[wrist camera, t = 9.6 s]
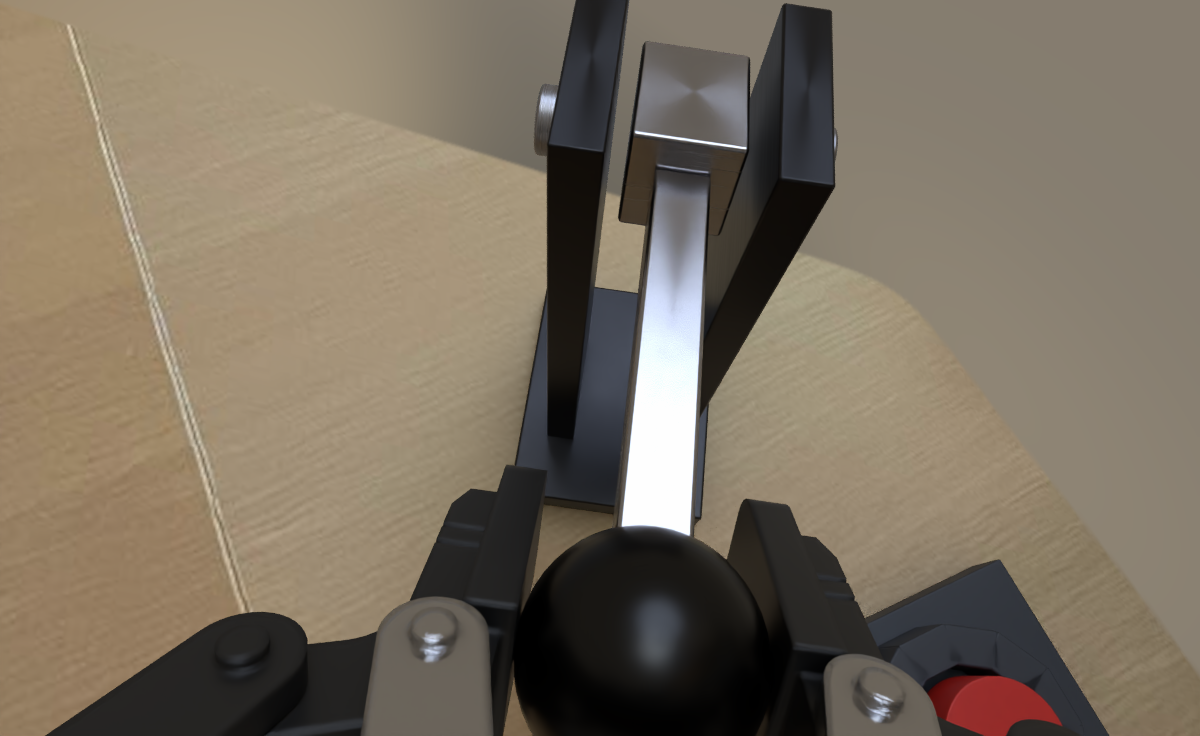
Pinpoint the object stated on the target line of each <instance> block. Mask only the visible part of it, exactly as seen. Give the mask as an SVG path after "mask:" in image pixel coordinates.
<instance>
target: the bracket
mask: <svg viewBox="0 0 1200 736" xmlns="http://www.w3.org/2000/svg"><path fill="white" fill-rule="evenodd" d="M628 6H629V0H576V2H575V7H574V12H573V17H572V22H571V27H570V31H569V37H568V42H567V46H566V51H565V57H564V61H563V67H562V71H561V76H560V81H559V86H557V85H550V84H544V85H542V87H541V90H540V93H539V97H538V102H537V109H536V117H535V128H534V150H535V153H536V154H537V155H540V156H547V290H546V295H545V301H544V306H543V312H542V317H541V323H540V328H539V334H538V339H537V345H536V350H535V356H534V361H533V367H532V372H531V378H530V383H529V389H528V394H527V400H526V405H525V411H524V416H523V422H522V427H521V433H520V438H519V444H518V449H517V455H516V460H515V466H520V467H527V468H534V469H541V470H547V481H546V489H545V497H544V504H546V505H554V506H561V507H568V508H575V509H582V510H589V511H596V512H603V513H611V514H614V507H615V498H616V489H617V480H618V470H619V461H620V452H621V443H622V434H623V425H624V416H625V407H626V398H627V389H628V380H629V371H630V362H631V353H632V343H633V334H634V325H635V316H636V307H637V298H638V293H633V292H626V291H619V290H612V289H605V288H598V287H595V280H596V272H597V263H598V255H599V247H600V239H601V230H602V222H603V214H604V205H605V197H606V189H607V180H608V172H609V164H610V155H611V147H612V138H613V129H614V122H615V114H616V106H617V96H618V89H619V81H620V72H621V64H622V56H623V48H624V47H623V46H624V39H625V31H626V23H627V13H628ZM833 97H834V96H833V43H832V11H831V10H827V9H820V8H814V7H806V6H799V5H793V4H787V3H786V4H784V5H783V6H782V8H781V11H780V14H779V17H778V19H777V22H776V25H775V28H774V31H773V34H772V37H771V39H770V42H769V45H768V48H767V52H766V54H765V57H764V60H763V62H762V65H761V69H760V71H759V74H758V77H757V80H756V82H755V85H754V88H753V91H752V94H751V97H750V132H749V154H748V156H747V159H746V162H745V165H744V168H743V171H742V174H741V177H740V180H739V182H738V185H737V188H736V191H735V194H734V197H733V200H732V203H731V206H730V209H729V211H728V214H727V217H726V220H725V223H724V226H723V229H722V232H721V234H720V235H719V236H713V235H708V255H707V275H706V296H705V317H704V337H703V358H702V378H701V399H700V420H699V440H698V461H697V481H696V502H695V523H694V525H695V524H696V523H697V522H698V521H699V520H700V519H701V516H702V500H703V485H704V470H705V454H706V439H707V423H708V408H709V401H710V400H711V398H712V396H713V395H714V393H715V391H716V390H717V388H718V386H719V384H720V383H721V381H722V379H723V378H724V376H725V374H726V372H727V371H728V369H729V367H730V366H731V364H732V362H733V360H734V359H735V357H736V355H737V354H738V352H739V350H740V348H741V347H742V345H743V343H744V342H745V340H746V338H747V337H748V335H749V333H750V331H751V330H752V328H753V326H754V325H755V323H756V321H757V319H758V318H759V316H760V314H761V313H762V311H763V309H764V307H765V306H766V304H767V302H768V301H769V299H770V297H771V296H772V294H773V292H774V290H775V289H776V287H777V285H778V284H779V282H780V280H781V278H782V277H783V275H784V273H785V272H786V270H787V268H788V266H789V265H790V263H791V261H792V260H793V258H794V256H795V254H796V253H797V251H798V249H799V248H800V246H801V244H802V243H803V241H804V239H805V237H806V236H807V234H808V232H809V231H810V229H811V227H812V225H813V224H814V222H815V220H816V219H817V217H818V215H819V213H820V212H821V210H822V208H823V207H824V205H825V203H826V201H827V200H828V198H829V196H830V195H831V193H832V191H833V189H834V188H835V160H836V154H837V146H838V136H837V131H836V129H835V128H834V98H833Z"/></svg>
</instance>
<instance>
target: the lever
mask: <svg viewBox="0 0 1200 736" xmlns="http://www.w3.org/2000/svg"><path fill="white" fill-rule="evenodd" d="M749 132H750V58H749V57H748V56H744V55H737V54H730V53H724V52H717V51H710V50H703V49H696V48H690V47H683V46H676V45H670V44H663V43H656V42H649V41H647V42H645V43H644V45H643V47H642V54H641V61H640V68H639V74H638V81H637V88H636V95H635V101H634V108H633V114H632V121H631V128H630V135H629V142H628V150H627V157H626V164H625V171H624V178H623V186H622V193H621V200H620V207H619V214H618V219H619V221H620V222H624V223H631V224H637V225H644V226H645V235H644V244H643V253H642V262H641V271H640V280H639V289H638V298H637V307H636V316H635V325H634V334H633V343H632V353H631V362H630V371H629V380H628V389H627V398H626V407H625V416H624V425H623V434H622V443H621V452H620V461H619V470H618V480H617V489H616V498H615V507H614V516H613V525H612V528H610V529H607V530H604V531H601V532H598V533H595V534H593V535H591V536H589V537H587V538H585V539H583V540H581V541H579V542H578V543H576V544H575V545H573V546H572V547H570V548H569V549H567V550H566V551H565V552H564V553H563V554H561V555H560V556H559V557H558V558H557V559H556V560H554V561H553V563H552V564H551V565H550V566H549V567H548V568H547V569H546V570H545V571H544V573H543V574H542V575H541V577H540V578H539V580H538V581H537V583H536V584H535V586H534V587H533V589H532V591H531V593H530V595H529V597H528V599H527V601H526V603H525V606H524V609H523V611H522V614H521V617H520V620H519V625H518V630H517V636H516V642H515V650H514V678H515V685H516V692H517V696H518V700H519V703H520V707H521V711H522V713H523V716H524V718H525V720H526V723H527V725H528V728H529V729H530V731H531V733H532V735H533V736H756V734H757V732H758V730H759V728H760V726H761V723H762V721H763V718H764V715H765V712H766V709H767V706H768V702H769V696H770V691H771V684H772V655H771V646H770V641H769V636H768V631H767V628H766V624H765V621H764V618H763V615H762V612H761V610H760V608H759V606H758V603H757V601H756V599H755V597H754V595H753V594H752V592H751V590H750V589H749V587H748V585H747V584H746V582H745V581H744V580H743V578H742V577H741V576H740V574H739V573H738V572H737V571H736V570H735V568H734V567H733V566H732V565H731V564H730V563H729V562H728V561H727V560H726V559H725V558H723V557H722V556H721V555H720V554H719V553H717V552H716V551H715V550H714V549H712V548H711V547H709V546H708V545H706V544H704V543H703V542H701V541H700V540H698V539H695V538H694V523H695V502H696V481H697V461H698V440H699V420H700V399H701V378H702V358H703V337H704V317H705V296H706V275H707V255H708V235H713V236H719V235H720V234H721V232H722V229H723V226H724V223H725V220H726V217H727V214H728V211H729V209H730V206H731V203H732V200H733V197H734V194H735V191H736V188H737V185H738V182H739V180H740V177H741V174H742V171H743V168H744V165H745V162H746V159H747V156H748V154H749Z"/></svg>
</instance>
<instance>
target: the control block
mask: <svg viewBox="0 0 1200 736" xmlns="http://www.w3.org/2000/svg"><path fill="white" fill-rule="evenodd" d="M865 620H866V622H867V625H868V627H869V629H870V631H871V633H872V635H873V638H874V640H875V642H876V644H877V646H878V648H879V651H880V653H881V655H882V657H883V659H884V661H886V662H888V663H890V664H892V665H894V666H896V667H897V668H899V669H901V670H902V671H904V672H905V673H907V674H908V675H909V676H910V677H912V678H913V679H914V680H915V681H916V682H917V683H918V684H919V685H920V686H921V687H922V688H923V689H924V691H925V692H926V693H928V692H929V691H930V689H931V688H933V687H934V686H935V685H936V684H938V683H939V682H941V681H943V680H945V679H947V678H951V677H955V676H1002V677H1007V678H1010V679H1013V680H1016V681H1018V682H1020V683H1022V684H1024V685H1026V686H1028V687H1029V688H1031V689H1032V690H1033V691H1035V692H1036V693H1037V694H1038V695H1040V696H1041V697H1042V698H1043V699H1044V700H1045V701H1046V702H1047V703H1048V705H1049V706H1050V707H1051V708H1052V710H1053V711H1054V712H1055V714H1056V715H1057V717H1058V718H1059V720H1060V722H1061V724H1062V726H1063V727H1065V728H1068V729H1070V730H1072V731H1074V732H1076V733H1078V734H1080V735H1081V736H1109V734H1108V733H1107V731H1106V730H1105V728H1104V726H1103V725H1102V723H1101V722H1100V720H1099V718H1098V717H1097V715H1096V714H1095V712H1094V710H1093V709H1092V707H1091V705H1090V704H1089V702H1088V701H1087V699H1086V697H1085V696H1084V694H1083V693H1082V691H1081V689H1080V688H1079V686H1078V684H1077V683H1076V681H1075V680H1074V678H1073V676H1072V675H1071V673H1070V672H1069V670H1068V668H1067V667H1066V665H1065V664H1064V662H1063V660H1062V659H1061V657H1060V655H1059V654H1058V652H1057V651H1056V649H1055V647H1054V646H1053V644H1052V643H1051V641H1050V639H1049V638H1048V636H1047V635H1046V633H1045V631H1044V630H1043V628H1042V626H1041V625H1040V623H1039V622H1038V620H1037V618H1036V617H1035V615H1034V614H1033V612H1032V610H1031V609H1030V607H1029V605H1028V604H1027V602H1026V601H1025V599H1024V597H1023V596H1022V594H1021V593H1020V591H1019V589H1018V588H1017V586H1016V585H1015V583H1014V581H1013V580H1012V578H1011V576H1010V575H1009V573H1008V572H1007V570H1006V568H1005V567H1004V565H1003V564H1002V562H1001V560H994V561H990V562H987V563H983V564H979V565H975V566H972V567H970V568H968V569H966V570H964V571H962V572H960V573H958V574H956V575H954V576H952V577H950V578H948V579H946V580H943V581H941V582H939V583H937V584H935V585H933V586H931V587H929V588H927V589H925V590H923V591H921V592H919V593H917V594H915V595H913V596H911V597H908V598H906V599H904V600H902V601H900V602H898V603H896V604H894V605H892V606H890V607H888V608H886V609H884V610H882V611H880V612H878V613H876V614H873V615H871V616H869V617H867V618H865Z"/></svg>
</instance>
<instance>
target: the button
mask: <svg viewBox="0 0 1200 736" xmlns="http://www.w3.org/2000/svg"><path fill="white" fill-rule="evenodd" d="M927 694H928V696H929V698H930V699H931V701H932V703H933V705H934V708H935V711H936V715H937V716H938V717H940V718H942V719H944V720H946V721H949V722H951V723H953V724H956V725H958V726H961V727H964V728H966V729H969V730H971V731H974V732H977V733H979V734H982V735H984V736H1006V734H1007V732H1008V730H1009V728H1010V727H1011V726H1012V725H1013V724H1014V723H1015V722H1018V721H1020V720H1026V719H1038V720H1043V721H1048V722H1051V723H1055V724H1058V725H1060V726H1062V724H1061V722H1060V720H1059V718H1058V717H1057V715H1056V714H1055V712H1054V711H1053V710H1052V708H1051V707H1050V706H1049V705H1048V703H1047V702H1046V701H1045V700H1044V699H1043V698H1042V697H1041V696H1040V695H1038V694H1037V693H1036V692H1035V691H1033V690H1032V689H1031V688H1029V687H1028V686H1026V685H1024V684H1022V683H1020V682H1018V681H1016V680H1013V679H1010V678H1007V677H1002V676H955V677H951V678H947V679H945V680H943V681H941V682H939V683H938V684H936V685H935V686H934V687H933V688H931V689H930V691H929V692H928V693H927Z"/></svg>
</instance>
